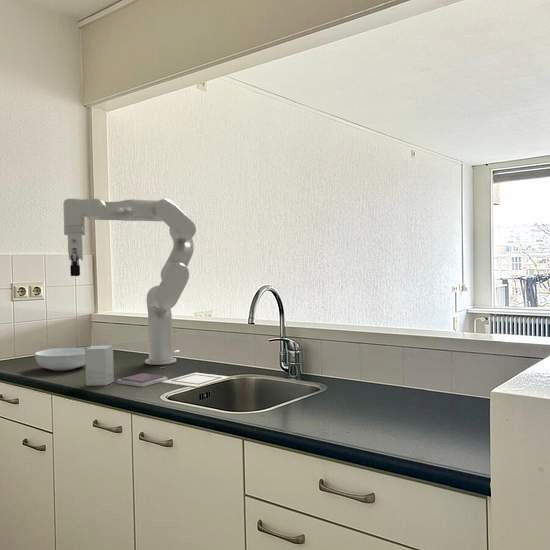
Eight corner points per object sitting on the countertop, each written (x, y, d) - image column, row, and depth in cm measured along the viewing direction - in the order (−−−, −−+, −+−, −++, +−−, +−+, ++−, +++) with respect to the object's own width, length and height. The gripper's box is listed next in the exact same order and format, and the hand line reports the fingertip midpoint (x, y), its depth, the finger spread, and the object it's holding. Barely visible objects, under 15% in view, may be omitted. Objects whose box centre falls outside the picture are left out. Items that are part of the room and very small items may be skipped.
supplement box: (114, 381, 199) (113, 345, 199) (106, 385, 192) (105, 348, 191) (94, 381, 200) (93, 345, 200) (85, 385, 193) (84, 348, 192)
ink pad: (142, 376, 206) (142, 372, 206) (167, 380, 199) (167, 375, 199) (117, 383, 196) (116, 378, 196) (142, 386, 189) (142, 382, 189)
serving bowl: (73, 374, 212) (73, 356, 212) (23, 373, 217) (23, 355, 216) (101, 364, 233) (101, 347, 233) (55, 363, 237) (54, 347, 237)
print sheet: (195, 373, 211) (195, 372, 211) (230, 377, 202) (230, 376, 202) (161, 382, 195) (161, 381, 195) (197, 387, 187) (197, 386, 187)
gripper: (84, 230, 212) (85, 276, 213) (84, 232, 229) (85, 275, 229) (63, 229, 210) (64, 276, 210) (65, 232, 226) (65, 275, 227)
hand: (75, 275), depth 220 cm, fingers open, 9 cm apart
